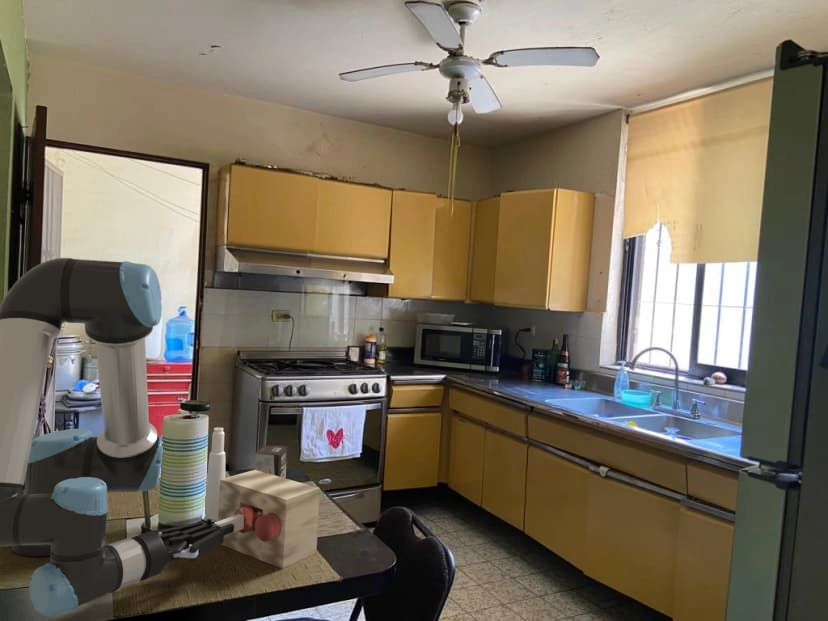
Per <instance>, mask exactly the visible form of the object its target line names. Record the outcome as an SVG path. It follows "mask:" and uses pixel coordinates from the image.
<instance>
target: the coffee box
mask: <svg viewBox="0 0 828 621" xmlns="http://www.w3.org/2000/svg"><path fill="white" fill-rule="evenodd" d="M287 455H288V446H283V445H263V446H262V447H261V448H260V449H258V450H257V451H256V452H255V453H254V461H253V470H257V471H261V472H264V473H268V474H271V475H275V476H278V477H282V478H286V475H287V457H288V456H287ZM286 479H287V478H286Z"/></svg>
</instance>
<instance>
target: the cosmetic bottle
mask: <svg viewBox="0 0 828 621" xmlns="http://www.w3.org/2000/svg"><path fill="white" fill-rule="evenodd" d="M211 437H212V438H211V451H210V452H209V455H208V456H209V457H208V465H207V477H206V486H205V493H206V496H205V495H204V501H205V514H206V517H207V518H211V519H214V520H217V521H218V510H219V491H220V479H223V478H226V452H225V451H224V450H225V449H224V448H225V447H224V446H225V432H224V427H214V428H213V432H212V435H211Z"/></svg>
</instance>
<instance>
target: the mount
mask: <svg viewBox="0 0 828 621" xmlns="http://www.w3.org/2000/svg"><path fill="white" fill-rule="evenodd" d="M320 489H321V488H320V487H318V486H314V485H310V484H306V483H304V482H299V481H295V480H292V479H289V478H282V477H278V476H275V475H271V474H268V473H264V472H261V471H257V470H254V469H253V470H249V471H246V472H245V471H244V472H243V473H238V474H235V475H231V476H228V477H227V476H226V477H225V478H223V479H220V491H219V510H218V521H220V520H223V519H226V518H229V517H232V516H234V513H235V511H236V510H237V509H239V508H242V507H245V506H248V505H250V506H253V507H255V508H260V509H263V516H260V517H258V518H257V520H256V522H255V529H253V530H251V531H248V532H246V533H241V532H239V531H236V532H233V533H231V534H228V535H225V536H224V543H223V544H221V545H220V546H224V547H226V546H227V547H226V548H229V549H232V550H234V551H236V552H239V553H242V554H244V555H247V556H249V557H251V556H252V558H254V559H257V560H259V561H262V562H265V563H267V564H268V565H269V564H270V565H272V566H274V567H277V568H279V569H282V570H283V569H286V568H288V567H290V566H292V565H294V564H296V563H298V562H301V561H302V560H304V559H306V558H308V557H310V556H313V555H314V554H316V553H317V551H318V550H317V547H318V532H319V528H318V527H319V514H320V512H319V508H320V493H321V492H320Z"/></svg>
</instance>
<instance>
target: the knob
mask: <svg viewBox="0 0 828 621" xmlns="http://www.w3.org/2000/svg"><path fill="white" fill-rule="evenodd" d="M238 514H241V515H244V529H241V530H239V532H241V533H246V532H248V531H251V530H253V529H255V522H256V520H257V518H258V517H260V516H263V509H260V508H255V507H253V506H250V505H248V506H245V507H242V508H239V509H237V510H236V511H235V513H234V516H235V515H238Z"/></svg>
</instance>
